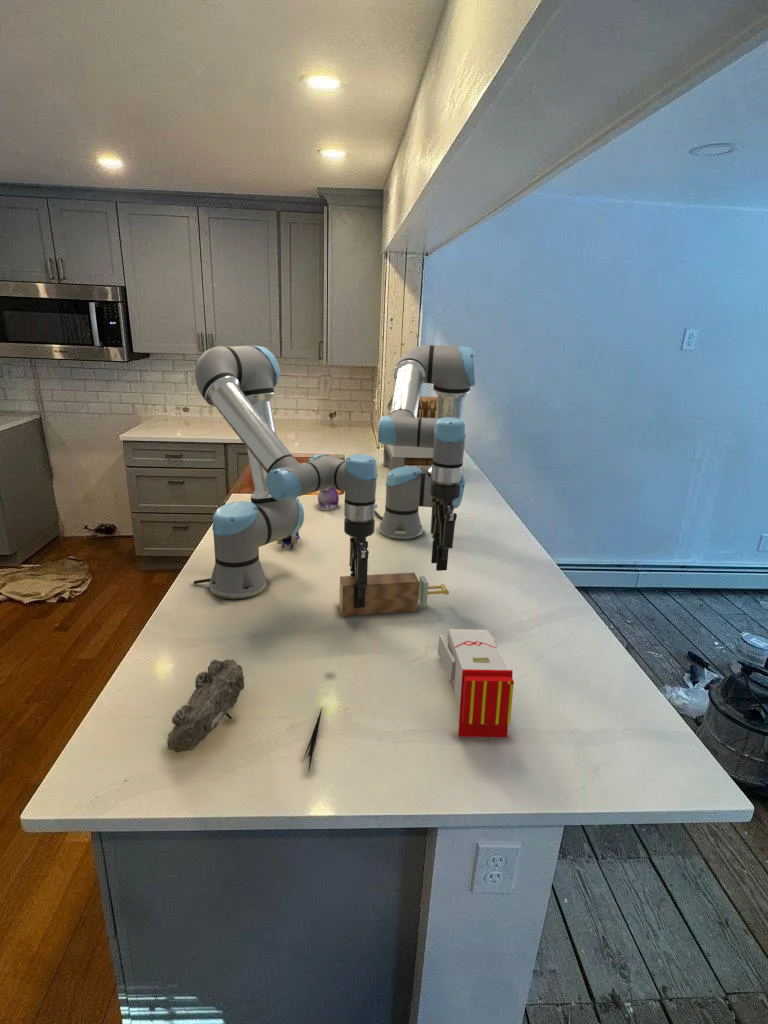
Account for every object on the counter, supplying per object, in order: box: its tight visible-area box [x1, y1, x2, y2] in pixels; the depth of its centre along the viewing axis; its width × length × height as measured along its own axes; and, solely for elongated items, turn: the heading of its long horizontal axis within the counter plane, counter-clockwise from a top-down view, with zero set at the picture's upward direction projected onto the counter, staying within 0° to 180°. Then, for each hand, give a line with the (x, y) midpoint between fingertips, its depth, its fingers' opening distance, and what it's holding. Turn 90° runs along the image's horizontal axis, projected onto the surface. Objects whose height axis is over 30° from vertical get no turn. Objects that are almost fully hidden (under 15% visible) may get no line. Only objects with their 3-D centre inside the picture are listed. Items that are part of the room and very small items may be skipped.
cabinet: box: [338, 572, 420, 617], centre depth 148 cm, size 20×5×9 cm, turn 102°
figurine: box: [317, 488, 340, 511], centre depth 220 cm, size 9×10×15 cm
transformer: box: [383, 395, 466, 472], centre depth 268 cm, size 34×33×41 cm
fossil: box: [166, 658, 245, 754], centre depth 106 cm, size 22×10×15 cm
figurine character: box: [276, 530, 301, 550], centre depth 187 cm, size 7×8×15 cm
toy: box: [437, 628, 515, 738], centre depth 117 cm, size 12×13×30 cm
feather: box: [301, 673, 332, 771], centre depth 108 cm, size 2×28×2 cm
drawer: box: [418, 575, 450, 607], centre depth 150 cm, size 25×4×7 cm, turn 102°
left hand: (357, 600), depth 148 cm, fingers closed on cabinet, 5 cm apart
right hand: (438, 566), depth 149 cm, fingers open, 4 cm apart
